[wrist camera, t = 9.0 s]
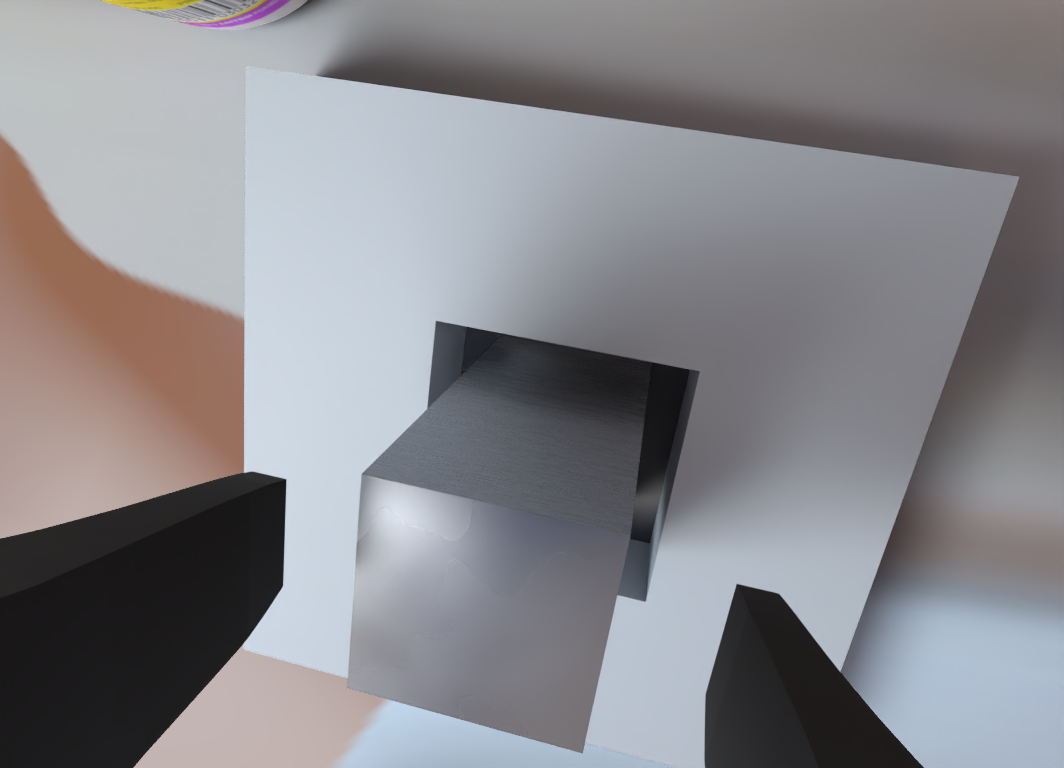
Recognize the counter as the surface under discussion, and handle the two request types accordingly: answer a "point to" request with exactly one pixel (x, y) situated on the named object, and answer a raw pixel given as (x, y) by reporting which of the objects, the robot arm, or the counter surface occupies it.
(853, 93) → the counter surface
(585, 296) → the bore block
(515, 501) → the square bit
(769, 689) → the robot arm
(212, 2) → the supplement bottle
